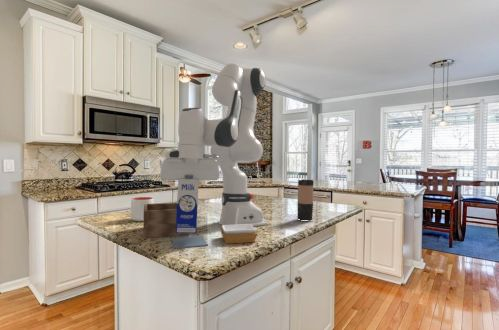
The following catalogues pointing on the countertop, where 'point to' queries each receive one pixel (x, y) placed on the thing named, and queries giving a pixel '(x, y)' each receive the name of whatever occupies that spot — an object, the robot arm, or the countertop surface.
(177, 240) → the mat
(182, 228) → the milk carton
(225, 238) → the soap dish
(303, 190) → the travel mug
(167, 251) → the countertop surface
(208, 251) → the countertop surface
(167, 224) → the crate
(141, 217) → the cup
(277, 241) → the countertop surface
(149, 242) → the countertop surface
